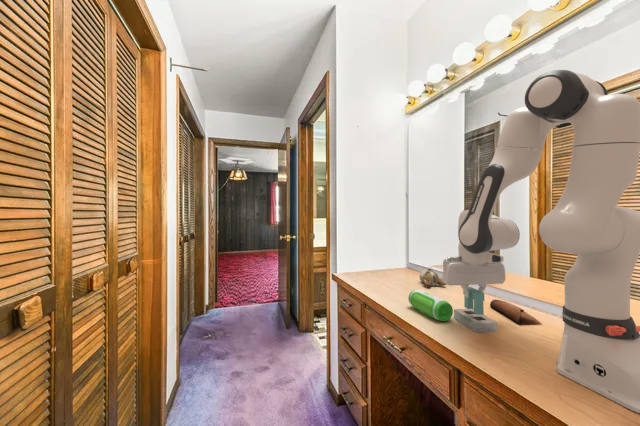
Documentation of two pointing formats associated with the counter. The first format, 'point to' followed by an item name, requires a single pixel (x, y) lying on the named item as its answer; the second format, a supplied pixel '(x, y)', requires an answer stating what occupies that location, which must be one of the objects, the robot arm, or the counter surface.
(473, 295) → the clip
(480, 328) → the grey slotted block
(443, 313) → the speaker
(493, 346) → the counter surface
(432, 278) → the ceramic sculpture
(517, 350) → the counter surface
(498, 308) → the brown tapered cylinder
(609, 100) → the robot arm
